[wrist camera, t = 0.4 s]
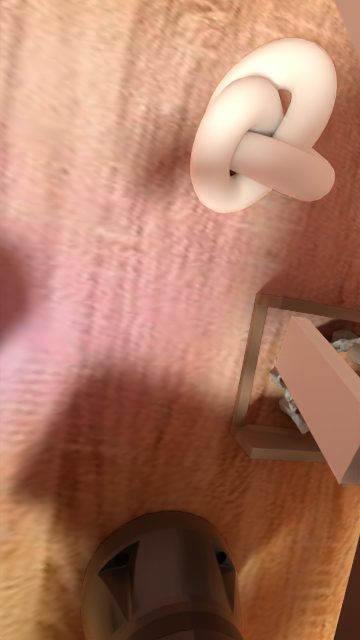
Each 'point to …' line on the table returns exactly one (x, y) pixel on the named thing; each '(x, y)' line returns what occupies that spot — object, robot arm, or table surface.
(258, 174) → the white knot sculpture
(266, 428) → the brown u-shaped frame
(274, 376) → the egg carton
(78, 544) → the table surface
